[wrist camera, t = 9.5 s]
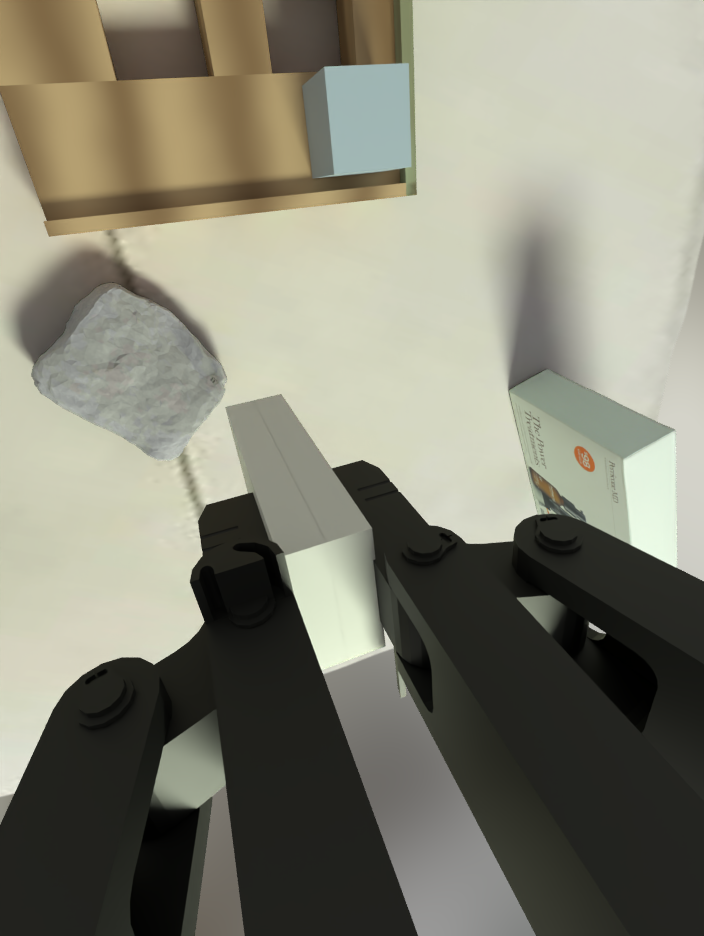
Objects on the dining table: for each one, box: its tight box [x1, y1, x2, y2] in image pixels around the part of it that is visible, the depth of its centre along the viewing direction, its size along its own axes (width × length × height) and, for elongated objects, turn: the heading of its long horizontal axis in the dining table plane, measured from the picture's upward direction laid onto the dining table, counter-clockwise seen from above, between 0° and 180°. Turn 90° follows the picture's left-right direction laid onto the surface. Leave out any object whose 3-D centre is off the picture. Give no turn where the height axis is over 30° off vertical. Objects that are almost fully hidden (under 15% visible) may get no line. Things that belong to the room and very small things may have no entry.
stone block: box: [32, 282, 227, 461], centre depth 37 cm, size 12×5×10 cm
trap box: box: [0, 0, 417, 236], centre depth 30 cm, size 24×14×4 cm, turn 95°
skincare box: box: [509, 369, 677, 568], centre depth 49 cm, size 21×6×16 cm, turn 24°
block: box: [302, 63, 411, 178], centre depth 30 cm, size 5×5×5 cm
